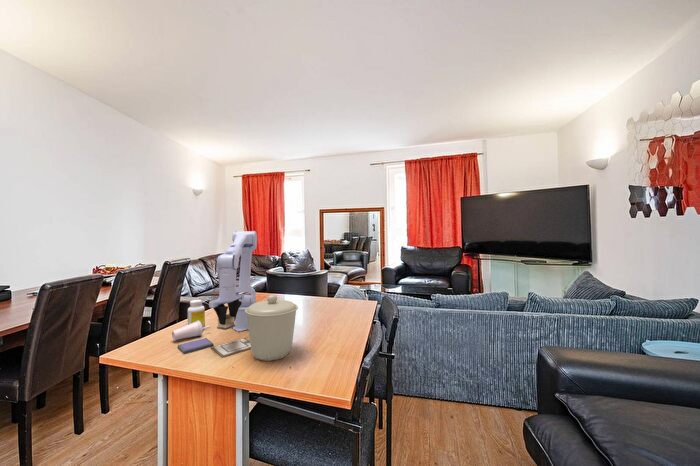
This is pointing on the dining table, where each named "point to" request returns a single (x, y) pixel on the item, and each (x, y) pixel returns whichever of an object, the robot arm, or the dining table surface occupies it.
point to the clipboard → (232, 347)
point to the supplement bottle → (196, 312)
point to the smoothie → (188, 331)
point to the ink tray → (195, 345)
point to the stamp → (227, 323)
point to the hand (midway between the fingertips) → (227, 322)
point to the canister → (271, 327)
